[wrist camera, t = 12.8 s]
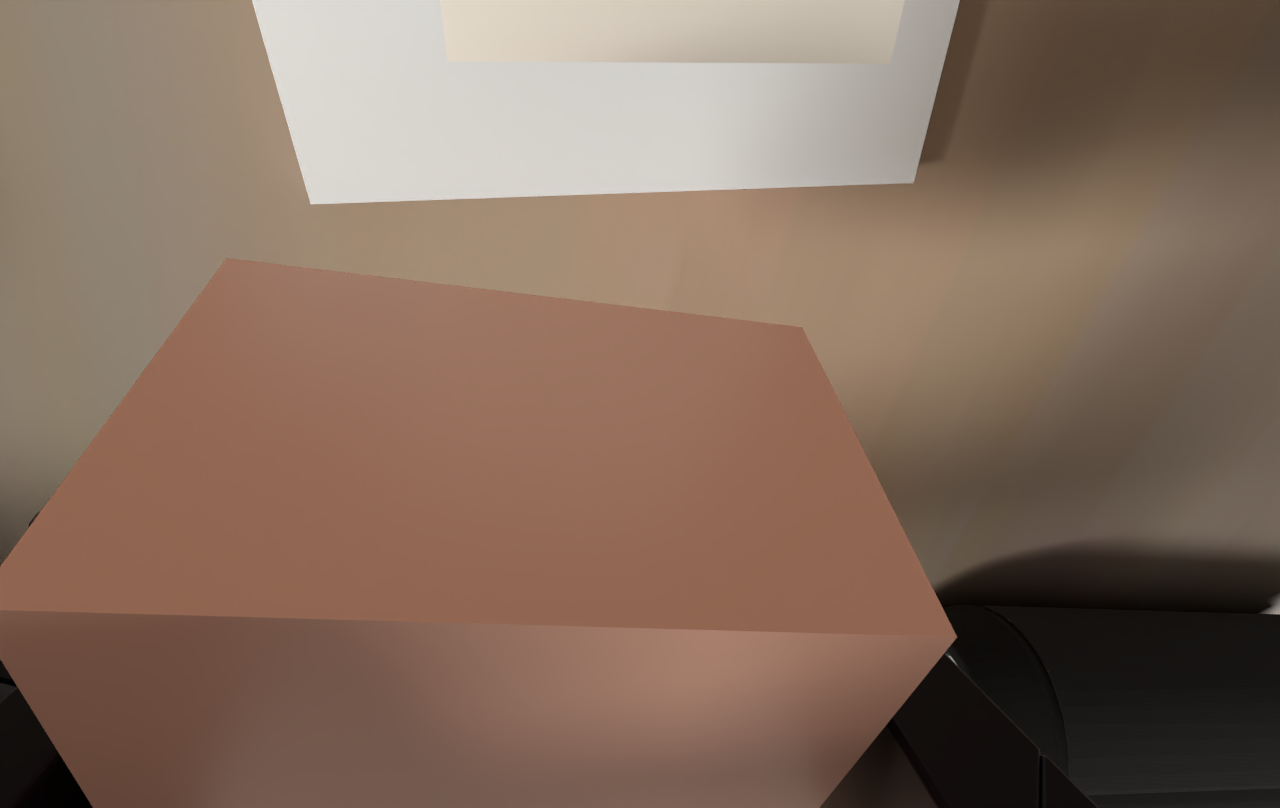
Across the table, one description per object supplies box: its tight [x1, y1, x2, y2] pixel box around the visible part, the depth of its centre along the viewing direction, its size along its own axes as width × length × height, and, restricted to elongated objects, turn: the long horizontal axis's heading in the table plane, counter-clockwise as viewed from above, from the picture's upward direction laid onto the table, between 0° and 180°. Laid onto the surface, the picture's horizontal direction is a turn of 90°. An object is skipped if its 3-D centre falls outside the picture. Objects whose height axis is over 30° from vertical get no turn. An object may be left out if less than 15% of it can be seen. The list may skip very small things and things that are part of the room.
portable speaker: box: [943, 605, 1280, 808], centre depth 34 cm, size 26×10×10 cm, turn 78°
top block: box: [0, 258, 957, 808], centre depth 8 cm, size 6×6×4 cm
